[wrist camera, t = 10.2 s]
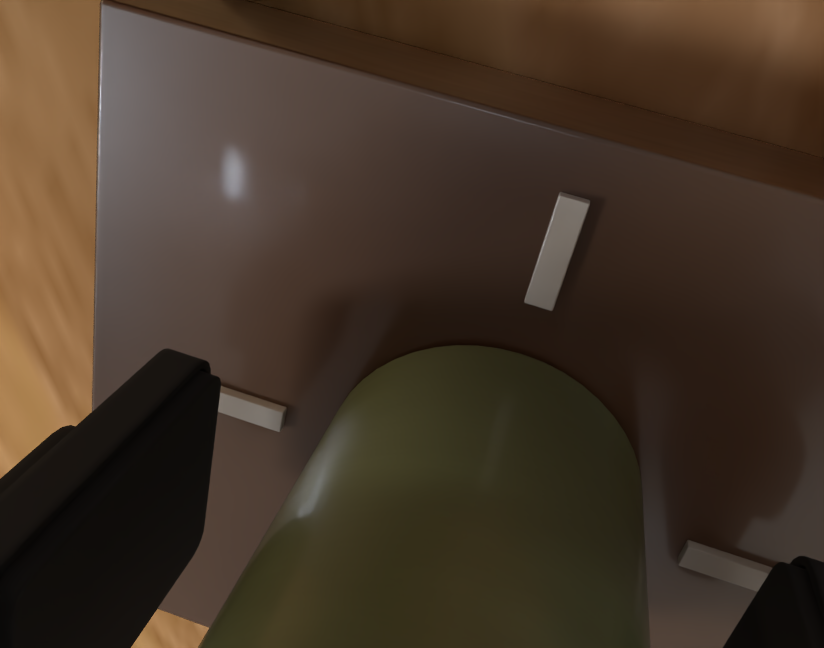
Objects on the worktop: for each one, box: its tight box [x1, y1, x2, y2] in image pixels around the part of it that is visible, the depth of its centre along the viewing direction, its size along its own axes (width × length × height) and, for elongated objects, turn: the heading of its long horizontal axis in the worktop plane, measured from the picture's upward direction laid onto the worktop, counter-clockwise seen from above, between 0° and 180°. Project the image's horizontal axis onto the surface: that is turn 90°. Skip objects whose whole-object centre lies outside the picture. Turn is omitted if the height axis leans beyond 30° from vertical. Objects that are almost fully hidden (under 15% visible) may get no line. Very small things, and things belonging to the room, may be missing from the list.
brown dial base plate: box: [92, 0, 824, 648], centre depth 12 cm, size 12×10×3 cm
